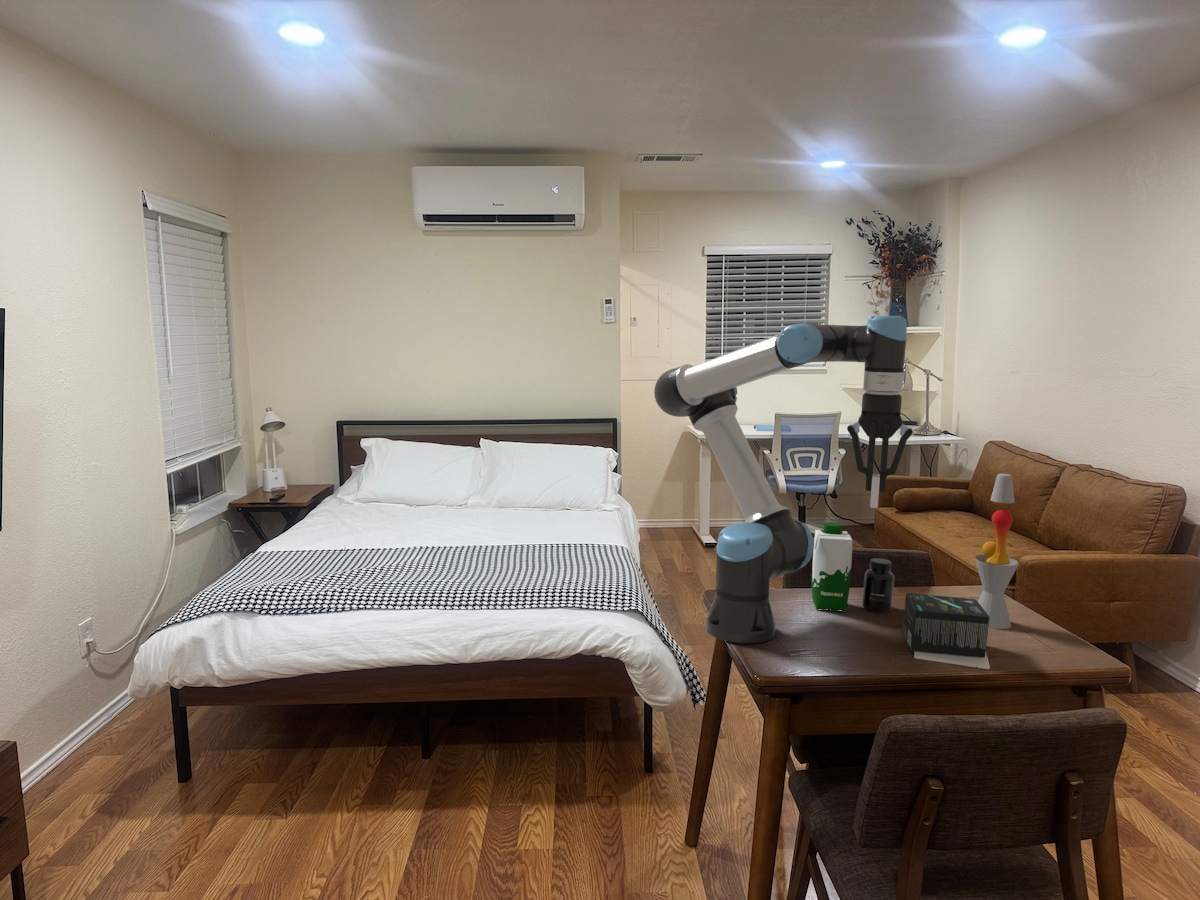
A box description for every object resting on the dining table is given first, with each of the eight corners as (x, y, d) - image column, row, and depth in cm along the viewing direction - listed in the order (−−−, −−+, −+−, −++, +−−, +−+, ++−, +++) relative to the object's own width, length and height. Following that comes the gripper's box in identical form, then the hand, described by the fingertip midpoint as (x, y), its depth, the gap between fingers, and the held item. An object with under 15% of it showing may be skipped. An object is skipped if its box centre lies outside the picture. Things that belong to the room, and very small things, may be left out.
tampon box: (910, 651, 164) (985, 659, 161) (914, 609, 163) (990, 616, 160) (901, 631, 175) (972, 639, 172) (905, 591, 173) (977, 598, 170)
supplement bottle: (872, 614, 187) (876, 565, 185) (856, 604, 194) (859, 557, 192) (897, 612, 189) (901, 563, 187) (880, 602, 196) (884, 556, 194)
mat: (914, 658, 162) (914, 655, 162) (913, 635, 174) (913, 633, 174) (989, 669, 157) (989, 666, 157) (983, 645, 169) (983, 643, 169)
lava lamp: (1019, 623, 183) (1034, 475, 178) (1001, 632, 177) (1017, 479, 172) (980, 612, 190) (993, 469, 185) (962, 620, 184) (975, 473, 179)
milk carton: (844, 601, 196) (849, 522, 193) (850, 613, 187) (856, 531, 184) (808, 598, 197) (812, 521, 194) (813, 611, 189) (818, 530, 186)
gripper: (847, 392, 159) (840, 507, 162) (917, 395, 154) (907, 513, 158) (849, 390, 166) (842, 500, 169) (916, 393, 161) (907, 506, 165)
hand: (874, 506), depth 163 cm, fingers closed
